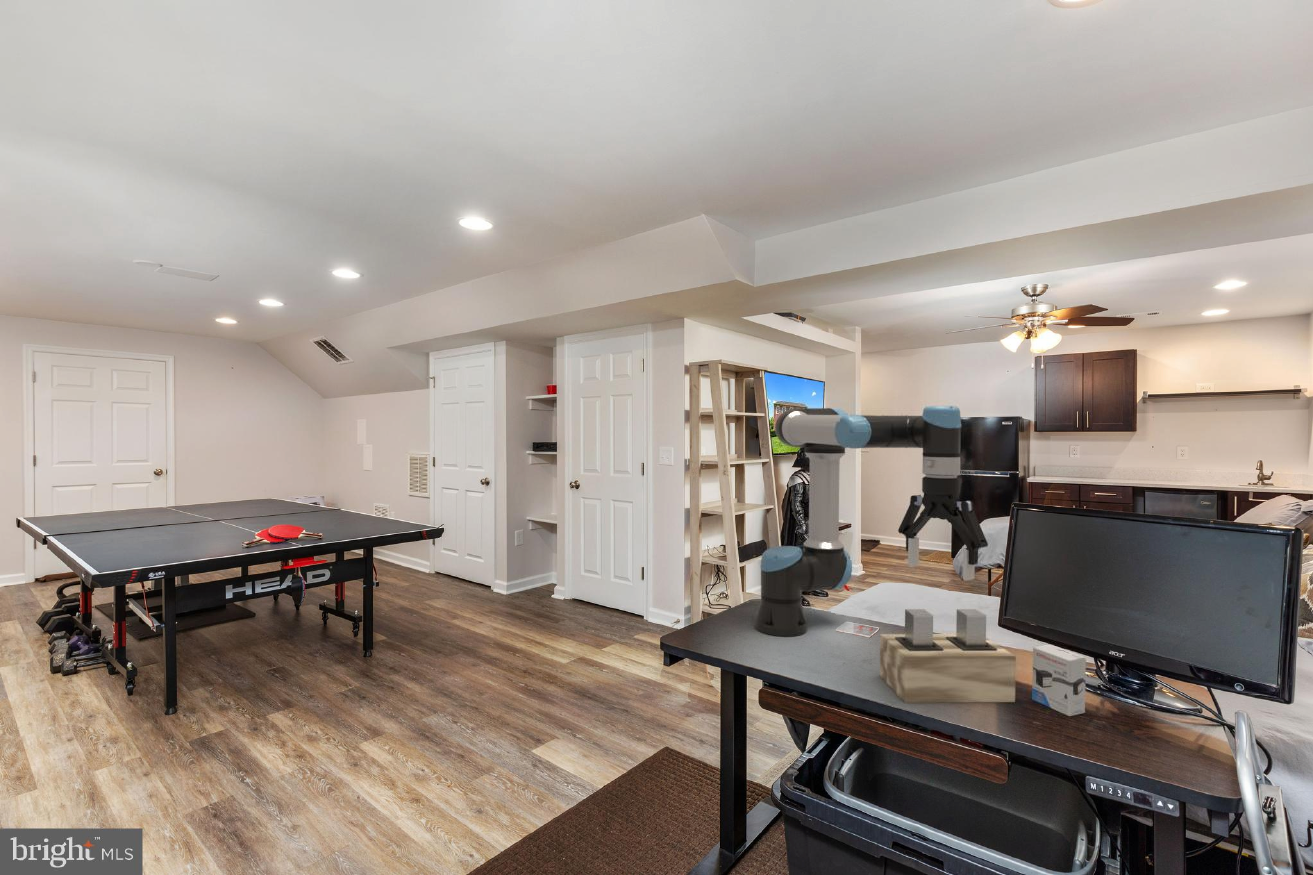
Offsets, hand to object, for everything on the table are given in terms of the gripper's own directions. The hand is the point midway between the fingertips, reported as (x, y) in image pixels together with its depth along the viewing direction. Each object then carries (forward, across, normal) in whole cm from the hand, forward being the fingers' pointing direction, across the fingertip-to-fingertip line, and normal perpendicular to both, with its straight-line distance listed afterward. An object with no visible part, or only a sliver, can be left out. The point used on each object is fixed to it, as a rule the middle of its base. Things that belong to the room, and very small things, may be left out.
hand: (939, 572), depth 133 cm
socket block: (+27, -2, +5) cm, 28 cm away
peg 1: (+19, -5, -1) cm, 20 cm away
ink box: (+28, +15, +18) cm, 36 cm away
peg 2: (+19, +1, +10) cm, 22 cm away
